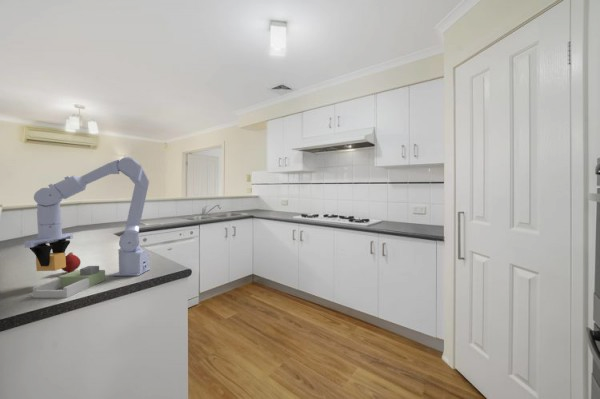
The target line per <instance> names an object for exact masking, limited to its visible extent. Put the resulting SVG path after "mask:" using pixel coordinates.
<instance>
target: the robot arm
mask: <svg viewBox="0 0 600 399" xmlns="http://www.w3.org/2000/svg"><path fill="white" fill-rule="evenodd" d="M121 173H122V174H123V175H125V176H126V177H128V178H129V179H130V181H131V182H132V183H133V184H134V187H133V192H132V195H131V202H130V206H129V208H128V209H129V210H128V214H127V220H126V223H125V224H126V225H125V228H124V232H123V233H122V234H121V236H120V237H119V242H118V246H119V247H120V248H119V249H118V250H117V251H118V252H117V254H118V272H115V273H113V274H112V276H113V277H114V276H118V277H119V276H121V277H122V276H125V277H126V276H128V277H129V276H132V277H134V276H136V277H137V276H140V275H141V274H143V273H146V272H147V271H149V270H151V268H150V254H149V252H148V250H146V249H142V247H141V246H140V235H139V232H140V225H141V222H142V217H143V211H144V207H145V202H146V198H147V193H148V189H149V184H150V180H149V178H148V176H147V174H146V173H145V170H144V168H143V167H142V165H141V163H139V161H137V160H136V159H135V158H133V157H132V156H131V157H130V156H126V157H122V158H121V159H120V160H119V159H118V160H114V161H111V162H108V163H106V164H104V165H102V166H99V167H98V168H95V169H93V170H92V171H89V172H87V173H85V174H84V175H81V176H75V175H71V176H70V175H66V176H65V177H63V180H60V181H58V182H55V183H50V184H48V187H41V188H40V189H38V190H36V192H35V193H34V195H33V200H34V201H35V203H37V204H36V208H37V209H36V218H37V219H36V221H37V236H36V238H32V239H30V240H26V241H24V244H23V245H24V248H29V250H30V251H31V252H32V253H33V254H34V255H35V258H36V257H37V258H38V260H39V263H40V265H41V266H49V263H50V253H65V254H66V250H67V248H68V247H69V245H70V243H71V239H73V238H74V236H73V235H74V234H73V232H70V233H68V232H66V233H63V226H62V225H63V223H62V210H61V202H62V200H63V199H64V200H66V199H68V198H71V197H73V196H75V195H76V194H79V193H81V192H83V191H85V190H86V187H87V185H89V184H91V183H93V182H96V181H98V180H100V179H103V178H105V177H107V176H109V175H120V174H121ZM51 251H52V252H51Z"/></svg>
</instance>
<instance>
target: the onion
mask: <svg viewBox="0 0 600 399" xmlns="http://www.w3.org/2000/svg"><path fill="white" fill-rule="evenodd" d="M73 253H74V252H73V251H72V252H68V254H67V255H65V256H66V267H65V268H62V269H61V271H64V272H66V273H70V272H73V271H76V270H78V268H79V267H80V265H81V259H80V258H79V257H78V256H77V255H75V254H73Z"/></svg>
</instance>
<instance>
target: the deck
mask: <svg viewBox="0 0 600 399" xmlns="http://www.w3.org/2000/svg"><path fill="white" fill-rule="evenodd" d="M105 280H106V270H105V269H100V265H87V266H85V267H82V268H80V269H76V270H75V271H73V272H70V273H68V272H66V273H65V274H62V275H59V276H58V278H56V279H53V280H51V281H47V282H44V283H42V284H39V285H37V286H35V287H32V298H34V299H36V298H38V299H39V298H41V299H44V298H46V299H50V298H54V299H55V298H56V299H57V298H64V299H65V298H69V297H72V296H74V295H76V294H78V293H80V292H82V291H84V290H86V289H88V288H91V287H93V286H94V285H97V284H99V283H101V282H103V281H105ZM61 288H62V289H61Z"/></svg>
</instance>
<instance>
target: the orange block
mask: <svg viewBox="0 0 600 399" xmlns="http://www.w3.org/2000/svg"><path fill="white" fill-rule="evenodd" d="M66 256H67V255H66V252H65V253H53V252H50V263H49V266H41V265H40V263H39V260H38V258H37V257H36V256H35V264H36V272H54V271H55V272H56V271H58V270H60V269H61V270H62V268H65V267H66Z"/></svg>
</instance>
